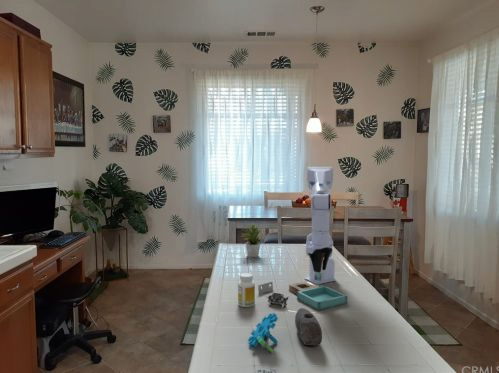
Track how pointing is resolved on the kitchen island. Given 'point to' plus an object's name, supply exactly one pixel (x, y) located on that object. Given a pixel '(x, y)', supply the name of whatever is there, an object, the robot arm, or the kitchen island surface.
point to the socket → (300, 287)
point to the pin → (318, 275)
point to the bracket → (269, 289)
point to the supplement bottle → (246, 290)
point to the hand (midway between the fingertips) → (319, 270)
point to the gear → (264, 332)
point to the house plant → (252, 241)
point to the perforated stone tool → (308, 327)
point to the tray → (321, 297)
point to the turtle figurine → (277, 300)
